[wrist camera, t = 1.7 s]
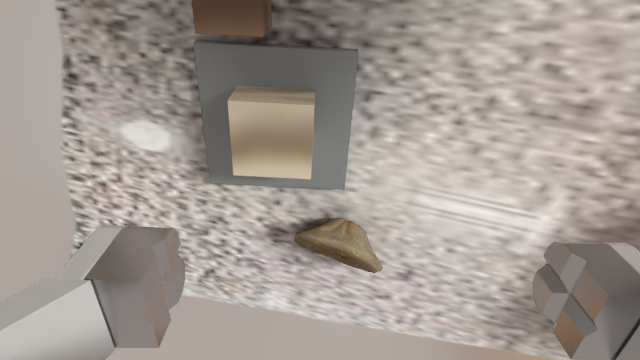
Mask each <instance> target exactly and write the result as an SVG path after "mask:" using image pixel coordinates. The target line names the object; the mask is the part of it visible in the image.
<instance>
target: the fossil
mask: <svg viewBox="0 0 640 360" xmlns="http://www.w3.org/2000/svg"><path fill="white" fill-rule="evenodd" d="M295 242H296V243H297V244H299V245H300V246H302V247H304V248H307V249H310V250H312V251H314V252H316V253H319V254H323V255H325V256H328V257H330V258H333V259H335V260H337V261H339V262H342V263H344V264H347V265H349V266H352V267H355V268H358V269H362V270H365V271H368V272H372V273H376V272H378V271H381V270H382V264H381V263H380V261H379V260H378V258H377V257H376V255H375V253H374V252H373V250H372V248H371V246H370V244H369V242H368V238H367V235H366V233H365V231H364V230H363V229H362V228H361V227H360V226H359V225H357V224H356V223H354V222H352V221H347V220H345V219H342V218H336V219H332V220H330V221H328V222H327V223H325V224H323V225H321V226H319V227H316V228H314V229H311V230H307V231H303V232H299V233H297V234H296V236H295Z"/></svg>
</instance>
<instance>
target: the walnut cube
mask: <svg viewBox="0 0 640 360" xmlns="http://www.w3.org/2000/svg"><path fill="white" fill-rule="evenodd" d="M192 7H193V16H194V24H195V33H201V34H218V35H235V36H252V37H264V36H265V34H266V33H267V32H268V30H269V29H270V27H271V0H192Z"/></svg>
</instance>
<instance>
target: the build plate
mask: <svg viewBox="0 0 640 360" xmlns="http://www.w3.org/2000/svg"><path fill="white" fill-rule="evenodd" d="M194 51H195V60H196V68H197V77H198V85H199V93H200V102H201V110H202V119H203V127H204V135H205V144H206V152H207V161H208V169H209V177H210V183H221V184H241V185H261V186H281V187H300V188H320V189H340V190H344V187H345V177H346V167H347V157H348V148H349V138H350V128H351V118H352V109H353V99H354V89H355V79H356V70H357V60H358V50H357V49H342V48H324V47H307V46H289V45H272V44H254V43H237V42H219V41H201V40H197V41H195V42H194ZM237 86H254V87H272V88H290V89H309V90H315V110H314V131H313V152H312V170H311V179H295V178H276V177H256V176H236V175H233V164H232V151H231V139H230V126H229V113H228V99H229V98H230V96H231V95H232V93H233V92H234V90H235V89H236V87H237Z"/></svg>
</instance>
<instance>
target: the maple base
mask: <svg viewBox="0 0 640 360" xmlns="http://www.w3.org/2000/svg"><path fill="white" fill-rule="evenodd" d="M314 110H315V90H309V89H290V88H272V87H254V86H237V87H236V89H235V90H234V92H233V93H232V95H231V96H230V98H229V99H228V113H229V126H230V139H231V151H232V164H233V175H236V176H256V177H276V178H295V179H311V170H312V152H313V131H314Z"/></svg>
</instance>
